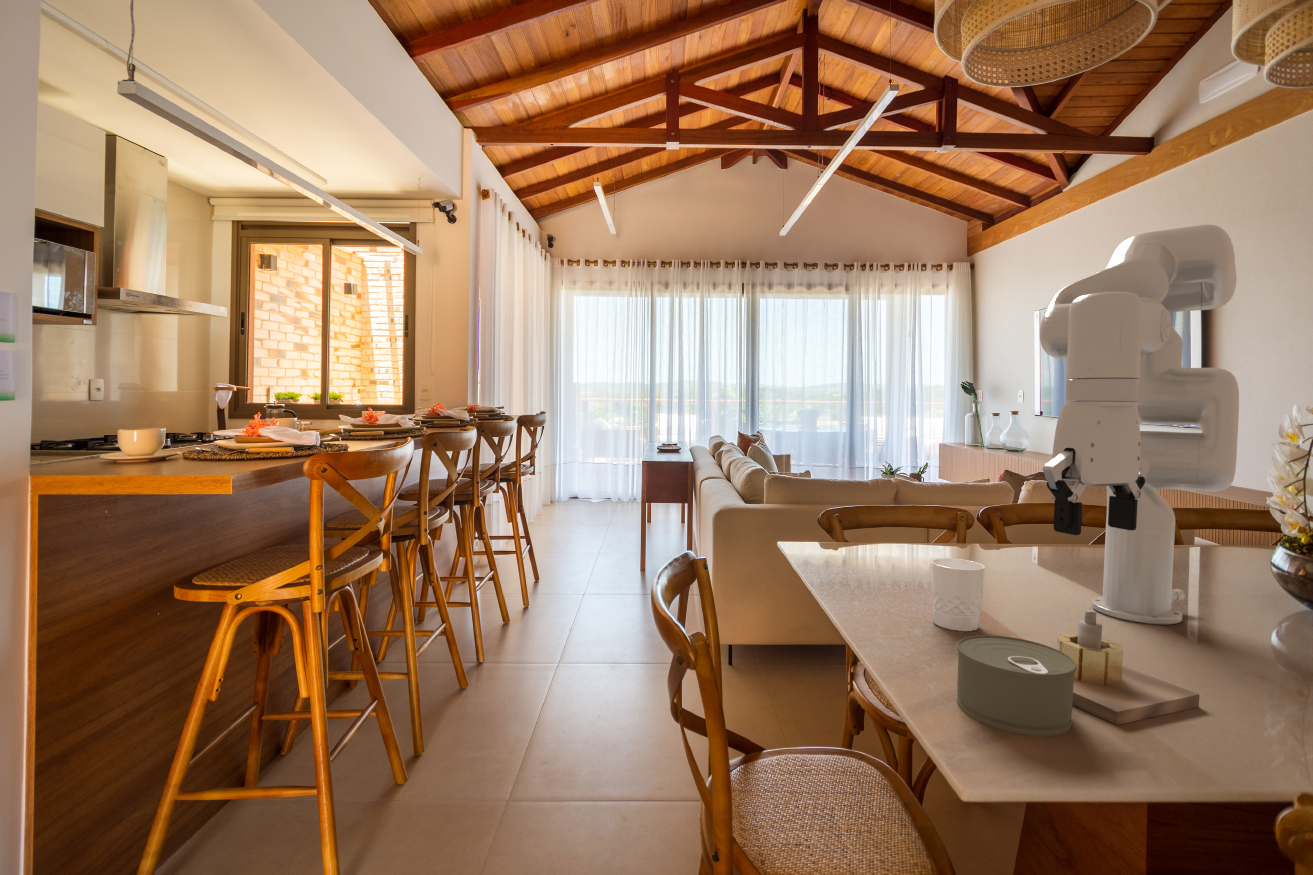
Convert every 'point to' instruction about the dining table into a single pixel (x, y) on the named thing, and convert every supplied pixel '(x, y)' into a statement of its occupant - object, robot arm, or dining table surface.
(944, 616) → the white cup
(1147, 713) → the post block
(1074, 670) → the can
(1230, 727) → the dining table surface
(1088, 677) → the ring
